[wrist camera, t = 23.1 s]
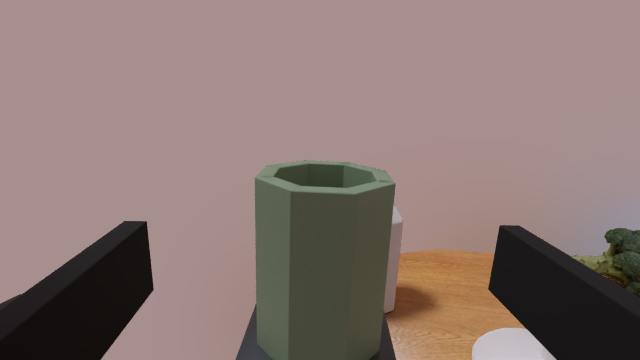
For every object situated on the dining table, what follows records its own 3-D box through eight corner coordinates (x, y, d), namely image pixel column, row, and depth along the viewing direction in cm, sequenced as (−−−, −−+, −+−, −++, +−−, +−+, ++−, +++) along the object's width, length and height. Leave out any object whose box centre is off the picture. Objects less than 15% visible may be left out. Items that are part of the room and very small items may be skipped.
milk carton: (332, 297, 55) (337, 187, 50) (367, 287, 58) (375, 183, 53) (356, 324, 49) (365, 200, 44) (394, 311, 52) (406, 195, 47)
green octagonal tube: (248, 373, 15) (243, 188, 13) (272, 293, 22) (272, 158, 19) (385, 381, 15) (404, 195, 13) (370, 299, 22) (381, 163, 19)
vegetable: (570, 249, 71) (667, 238, 62) (586, 311, 65) (697, 309, 55) (555, 226, 64) (661, 210, 55) (571, 293, 58) (695, 288, 48)
